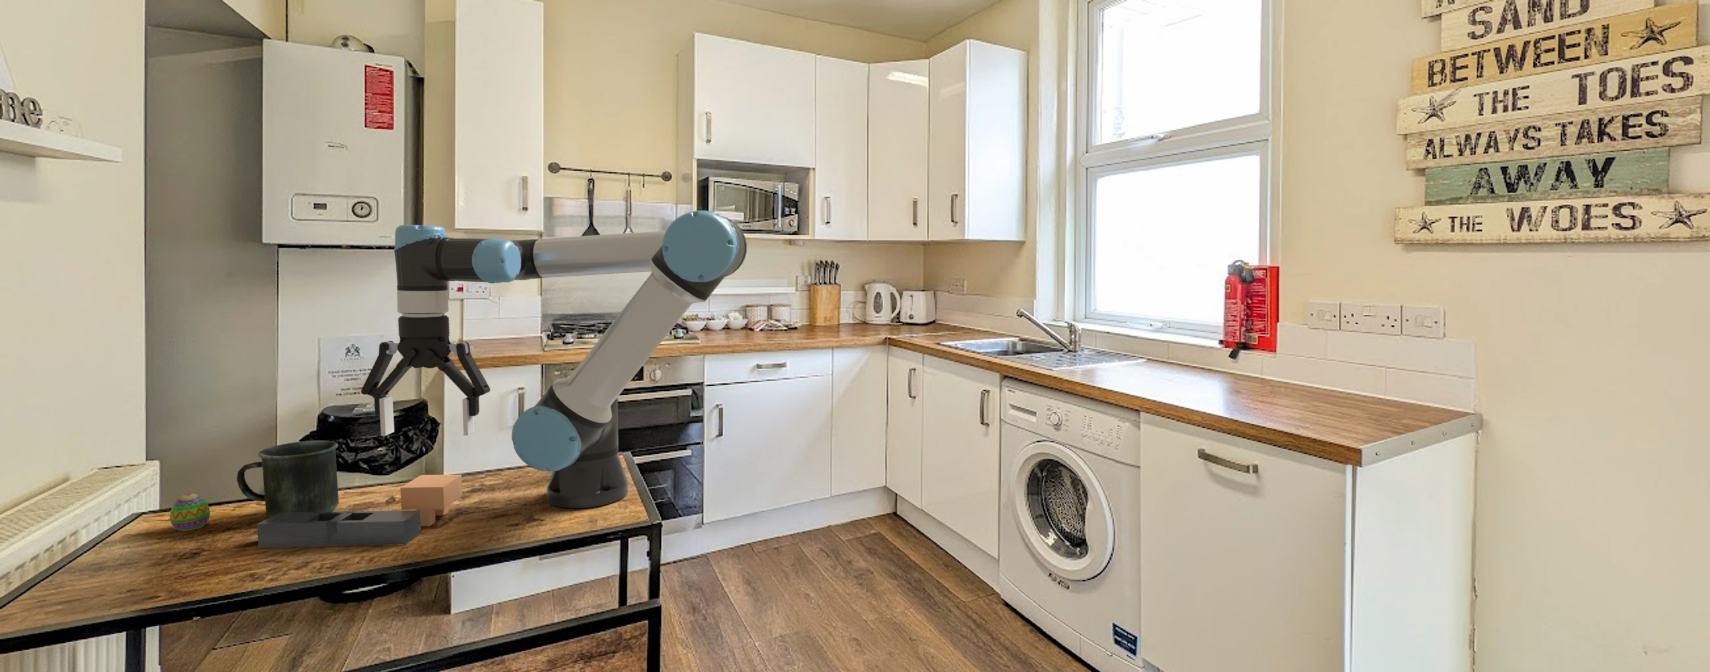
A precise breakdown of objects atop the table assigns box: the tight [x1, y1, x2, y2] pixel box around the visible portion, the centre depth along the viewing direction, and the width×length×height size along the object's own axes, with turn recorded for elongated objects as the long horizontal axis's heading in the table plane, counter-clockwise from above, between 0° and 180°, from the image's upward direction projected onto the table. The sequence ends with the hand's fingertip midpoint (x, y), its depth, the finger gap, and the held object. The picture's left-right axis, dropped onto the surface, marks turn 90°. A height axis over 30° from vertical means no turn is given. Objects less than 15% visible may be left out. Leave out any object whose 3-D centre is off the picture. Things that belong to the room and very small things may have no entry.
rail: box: [256, 509, 422, 549], centre depth 113 cm, size 22×5×4 cm, turn 97°
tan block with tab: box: [400, 474, 463, 527], centre depth 123 cm, size 7×7×7 cm
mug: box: [236, 439, 340, 519], centre depth 124 cm, size 11×15×12 cm
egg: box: [169, 493, 211, 532], centre depth 117 cm, size 5×5×6 cm
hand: (428, 433), depth 122 cm, fingers open, 13 cm apart
